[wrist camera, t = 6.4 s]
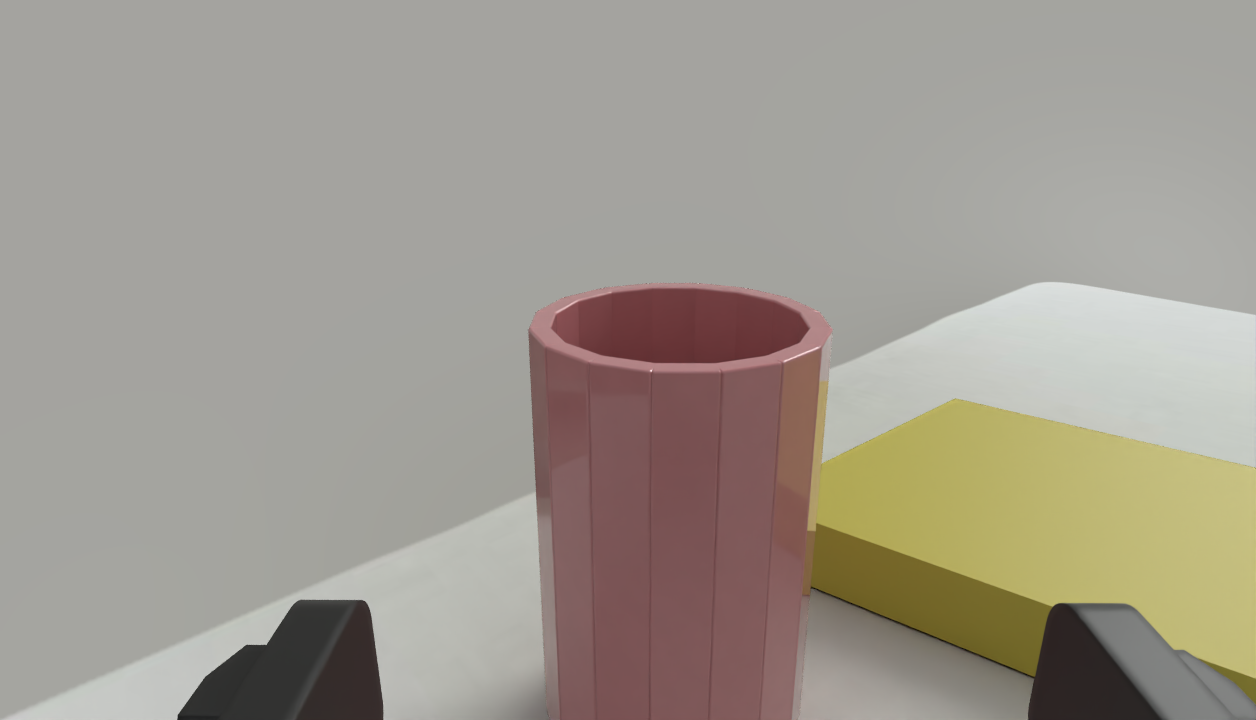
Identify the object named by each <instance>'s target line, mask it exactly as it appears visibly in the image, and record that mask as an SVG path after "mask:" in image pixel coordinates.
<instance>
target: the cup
mask: <svg viewBox="0 0 1256 720" xmlns="http://www.w3.org/2000/svg"><path fill="white" fill-rule="evenodd" d="M528 333H529V355H530V374H531V375H530V376H531V397H532V416H533V417H532V418H533V438H534V459H535V478H536V479H535V480H536V500H537V521H538V542H539V562H540V583H541V604H542V625H543V645H544V666H545V687H546V707H547V713H548V716H549V720H798V718H799V715H800V705H801V693H802V682H803V670H804V658H805V647H806V635H807V624H808V612H809V601H810V589H811V577H812V566H813V554H814V543H815V531H816V519H817V508H818V496H819V485H820V473H821V461H822V450H823V438H824V427H825V415H826V404H827V392H828V380H829V369H830V357H831V345H832V334H833V331H832V328H831V326H830V325H829V324H828V322H827V321H826V320H825V318H824V317H823V316H822V314H821V313H820V312H819V311H817V310H814V309H812V308H810V307H808V306H806V305H803V304H801V303H799V302H797V301H795V300H792V299H790V298H787V297H783V296H779V295H774V294H770V293H766V292H761V291H757V290H753V289H748V288H747V289H745V288H742V287H730V286H721V285H712V284H701V283H699V284H697V283H649V284H647V283H646V284H636V285H626V286H617V287H607V288H603V289H601V288H600V289H596V290H592V291H588V292H584V293H580V294H576V295H572V296H568V297H564V298H561V299H559V300H558V301H556V302H554V303H552V304H550V305H548V306H546V307H544V308H542V309H540V310H538V311H537V312H536V313H535V315H534V318H533V320H532V322H531V325H530V327H529V330H528Z"/></svg>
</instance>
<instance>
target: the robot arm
mask: <svg viewBox="0 0 1256 720" xmlns="http://www.w3.org/2000/svg"><path fill="white" fill-rule="evenodd" d="M177 720H383V700H382V692H381V685H380V678H379V670H378V663H377V655H376V648H375V641H374V633H373V626H372V618H371V613H370V609H369V607H368V605H367V603H366V602H365V601H363V600H299V601H297V602H296V603H295V604H294V605H293V606H292V607H291V608H290V610H289V611H288V613H287V614H286V616H285V618H284V619H283V621H282V622H281V624H280V625H279V627H278V628H277V630H276V631H275V633H274V634H273V636H272V637H271V639H270V640H269V642H268V644H267V645H246V646H244V647H243V648H242V649H241V650H239V651H238V652H237V653H235V654H234V655H233V656H232V657H230V658H229V659H228V660H226V661H225V662H224V663H223V664H221V665H220V666H219V667H217V668H216V669H215V670H214V671H212V672H211V673H210V674H208V675H207V676H206V677H205V678H204V679H203V681H202V682H201V684H200V685H199V686H198V688H197V689H196V691H195V692H194V693H193V695H192V696H191V698H190V699H189V700H188V702H187V703H186V704H185V706H184V707H183V709H182V710H181V711H180V713H179V714H178V719H177ZM1028 720H1256V704H1255V703H1254V702H1253V701H1252V700H1251V699H1250V698H1249V697H1248V696H1247V695H1246V694H1245V693H1244V692H1243V691H1242V690H1241V689H1240V688H1239V687H1238V686H1237V685H1236V684H1235V683H1234V682H1233V681H1231V680H1230V679H1228V678H1227V677H1225V676H1223V675H1222V674H1220V673H1219V672H1217V671H1216V670H1214V669H1213V668H1211V667H1210V666H1208V665H1207V664H1205V663H1204V662H1202V661H1201V660H1199V659H1198V658H1196V657H1195V656H1193V655H1191V654H1190V653H1188V652H1187V651H1185V650H1174V649H1173V648H1172V647H1171V646H1170V645H1169V644H1168V643H1167V642H1166V641H1165V640H1164V638H1163V637H1162V636H1161V635H1160V634H1159V633H1158V632H1157V631H1156V630H1155V629H1154V628H1153V626H1152V625H1151V624H1150V623H1149V622H1148V621H1147V620H1146V619H1145V618H1144V617H1143V616H1142V614H1141V613H1140V612H1139V611H1138V610H1136V609H1135V608H1134V607H1132V606H1131V605H1128V604H1126V603H1058V604H1056V605H1054V606H1053V607H1052V609H1051V610H1050V612H1049V614H1048V617H1047V621H1046V626H1045V630H1044V635H1043V640H1042V645H1041V650H1040V655H1039V660H1038V665H1037V669H1036V674H1035V679H1034V684H1033V689H1032V694H1031V699H1030V703H1029V712H1028Z"/></svg>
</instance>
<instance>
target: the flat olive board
mask: <svg viewBox="0 0 1256 720" xmlns="http://www.w3.org/2000/svg"><path fill="white" fill-rule="evenodd" d="M811 587H814V588H816V589H819V590H821V591H824V592H826V593H829V594H831V595H834V596H836V597H838V598H841V599H843V600H846V601H848V602H851V603H853V604H856V605H858V606H861V607H863V608H866V609H868V610H871V611H873V612H875V613H878V614H880V615H883V616H885V617H888V618H890V619H893V620H895V621H898V622H900V623H903V624H905V625H908V626H910V627H912V628H915V629H917V630H920V631H922V632H925V633H927V634H930V635H932V636H935V637H937V638H940V639H942V640H945V641H947V642H949V643H952V644H954V645H957V646H959V647H962V648H964V649H967V650H969V651H972V652H974V653H977V654H979V655H981V656H984V657H986V658H989V659H991V660H994V661H996V662H999V663H1001V664H1004V665H1006V666H1009V667H1011V668H1014V669H1016V670H1018V671H1021V672H1023V673H1026V674H1028V675H1031V676H1033V677H1035V674H1036V669H1037V665H1038V660H1039V655H1040V650H1041V645H1042V640H1043V635H1044V630H1045V626H1046V621H1047V617H1048V614H1049V612H1050V610H1051V609H1052V607H1053V606H1054V605H1056V604H1058V603H1126V604H1128V605H1131V606H1132V607H1134V608H1135V609H1136V610H1138V611H1139V612H1140V613H1141V614H1142V616H1143V617H1144V618H1145V619H1146V620H1147V621H1148V622H1149V623H1150V624H1151V625H1152V626H1153V628H1154V629H1155V630H1156V631H1157V632H1158V633H1159V634H1160V635H1161V636H1162V637H1163V638H1164V640H1165V641H1166V642H1167V643H1168V644H1169V645H1170V646H1171V647H1172V648H1173V649H1174V650H1185V651H1187V652H1188V653H1190V654H1191V655H1193V656H1195V657H1196V658H1198V659H1199V660H1201V661H1202V662H1204V663H1205V664H1207V665H1208V666H1210V667H1211V668H1213V669H1214V670H1216V671H1217V672H1219V673H1220V674H1222V675H1223V676H1225V677H1227V678H1228V679H1230V680H1231V681H1233V682H1234V683H1235V684H1236V685H1237V686H1238V687H1239V688H1240V689H1241V690H1242V691H1243V692H1244V693H1245V694H1246V695H1247V696H1248V697H1249V698H1250V699H1251V700H1252V701H1253V702H1254V703H1255V704H1256V468H1255V467H1250V466H1246V465H1242V464H1237V463H1233V462H1229V461H1224V460H1220V459H1216V458H1211V457H1207V456H1203V455H1198V454H1194V453H1190V452H1185V451H1181V450H1177V449H1172V448H1168V447H1164V446H1159V445H1155V444H1151V443H1146V442H1142V441H1138V440H1133V439H1129V438H1125V437H1120V436H1116V435H1112V434H1107V433H1103V432H1099V431H1094V430H1090V429H1086V428H1081V427H1077V426H1073V425H1068V424H1064V423H1060V422H1055V421H1051V420H1047V419H1042V418H1038V417H1034V416H1029V415H1025V414H1021V413H1016V412H1012V411H1008V410H1003V409H999V408H995V407H990V406H986V405H982V404H977V403H973V402H969V401H964V400H960V399H956V398H955V399H953V400H951V401H949V402H947V403H945V404H943V405H941V406H939V407H937V408H935V409H933V410H930V411H928V412H926V413H924V414H922V415H920V416H918V417H916V418H914V419H912V420H910V421H908V422H906V423H904V424H902V425H900V426H898V427H896V428H894V429H892V430H890V431H888V432H886V433H883V434H881V435H879V436H877V437H875V438H873V439H871V440H869V441H867V442H865V443H863V444H861V445H859V446H857V447H855V448H853V449H851V450H849V451H847V452H845V453H843V454H841V455H839V456H836V457H834V458H832V459H830V460H828V461H826V462H824V463H822V464H821V473H820V485H819V496H818V508H817V519H816V531H815V543H814V554H813V566H812V577H811Z"/></svg>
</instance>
